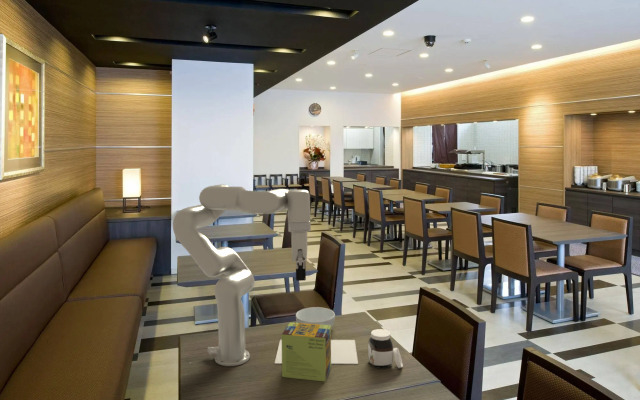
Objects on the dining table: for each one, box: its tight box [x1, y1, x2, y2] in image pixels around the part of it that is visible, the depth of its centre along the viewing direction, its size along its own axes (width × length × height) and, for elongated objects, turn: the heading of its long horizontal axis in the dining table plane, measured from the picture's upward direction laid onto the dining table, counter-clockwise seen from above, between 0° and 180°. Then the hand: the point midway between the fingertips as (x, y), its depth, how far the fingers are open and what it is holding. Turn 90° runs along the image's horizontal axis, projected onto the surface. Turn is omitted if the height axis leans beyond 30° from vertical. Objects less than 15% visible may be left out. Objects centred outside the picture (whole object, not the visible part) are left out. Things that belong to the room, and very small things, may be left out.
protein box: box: [281, 322, 332, 382], centre depth 158 cm, size 10×15×16 cm
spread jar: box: [367, 328, 404, 369], centre depth 164 cm, size 12×11×12 cm
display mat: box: [274, 339, 359, 365], centre depth 175 cm, size 30×20×1 cm, turn 89°
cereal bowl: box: [295, 306, 336, 328], centre depth 195 cm, size 17×17×7 cm
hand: (301, 276), depth 156 cm, fingers open, 9 cm apart
